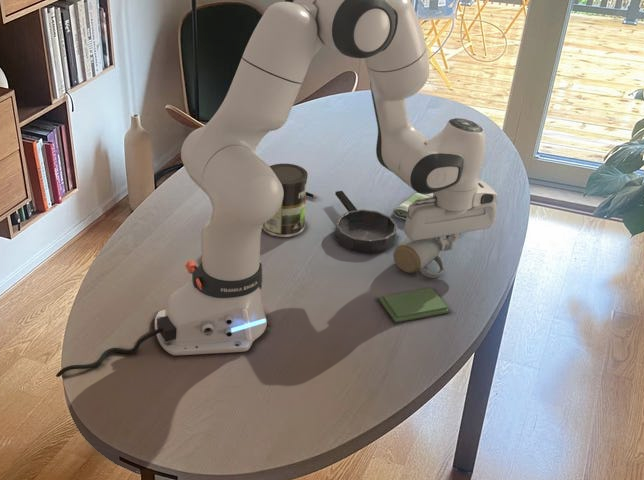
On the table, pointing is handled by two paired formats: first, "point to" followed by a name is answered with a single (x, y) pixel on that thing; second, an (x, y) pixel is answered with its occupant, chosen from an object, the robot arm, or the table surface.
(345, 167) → the table surface
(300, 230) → the coffee can
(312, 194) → the fountain pen
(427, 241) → the ceramic mug
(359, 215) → the steel pan
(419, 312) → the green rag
